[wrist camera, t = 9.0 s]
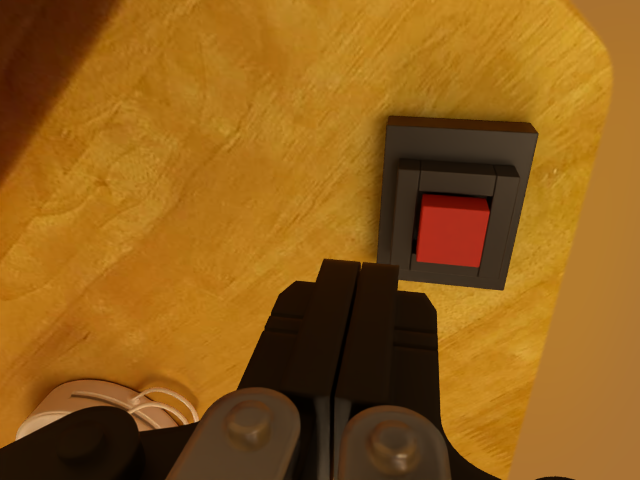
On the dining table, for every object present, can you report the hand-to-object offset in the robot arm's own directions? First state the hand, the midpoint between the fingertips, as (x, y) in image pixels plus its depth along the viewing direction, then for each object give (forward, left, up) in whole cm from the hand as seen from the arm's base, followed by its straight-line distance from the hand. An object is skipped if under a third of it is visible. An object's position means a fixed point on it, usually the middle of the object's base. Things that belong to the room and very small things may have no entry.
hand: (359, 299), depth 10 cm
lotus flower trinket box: (+37, -15, -21) cm, 45 cm away
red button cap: (+5, +5, -17) cm, 19 cm away
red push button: (+5, +5, -21) cm, 22 cm away
